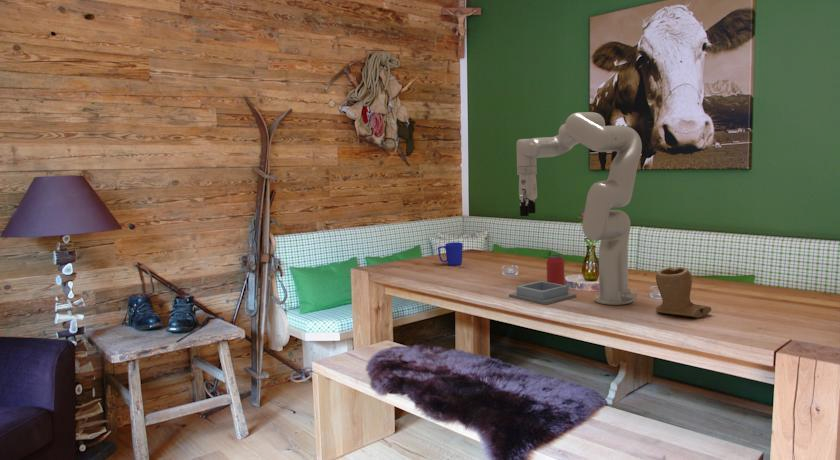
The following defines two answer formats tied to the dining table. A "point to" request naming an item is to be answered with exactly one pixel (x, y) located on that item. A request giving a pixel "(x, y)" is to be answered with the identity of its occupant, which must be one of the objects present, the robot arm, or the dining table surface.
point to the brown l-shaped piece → (678, 293)
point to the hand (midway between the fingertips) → (527, 214)
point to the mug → (452, 253)
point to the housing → (542, 292)
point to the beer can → (555, 269)
